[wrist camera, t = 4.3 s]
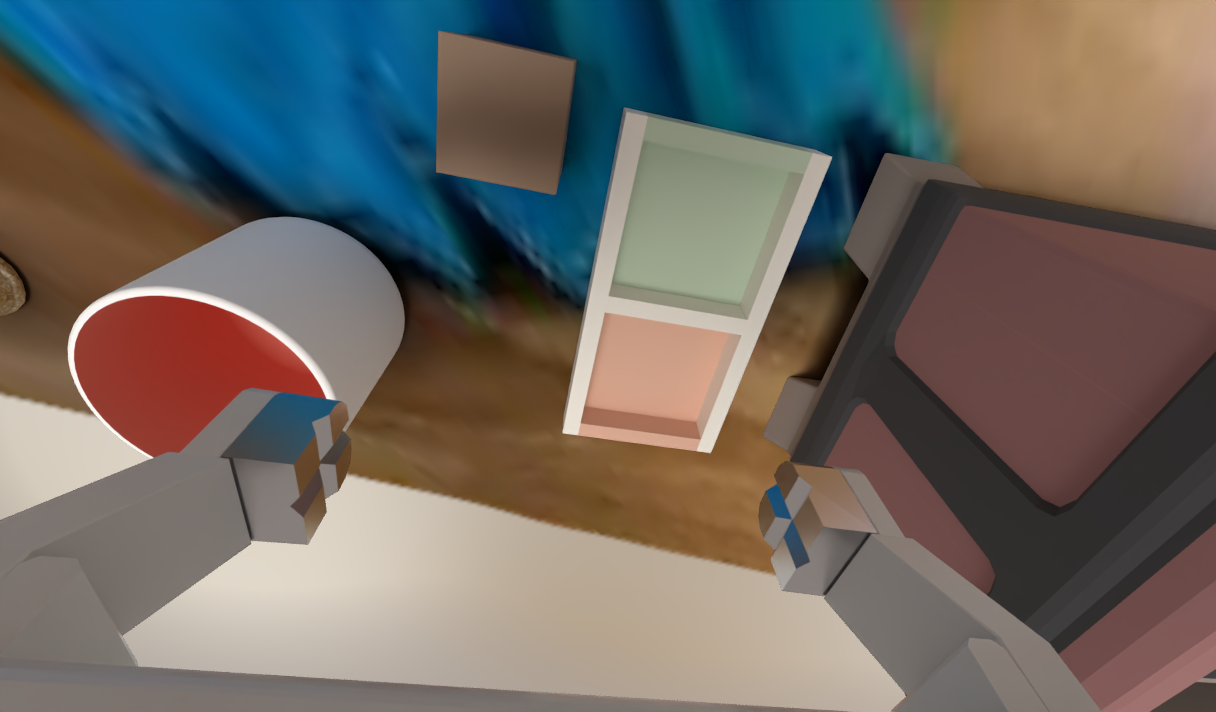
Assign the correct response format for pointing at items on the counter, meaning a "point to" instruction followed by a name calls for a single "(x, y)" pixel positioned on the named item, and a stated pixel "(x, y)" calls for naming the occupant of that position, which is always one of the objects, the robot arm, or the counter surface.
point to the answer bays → (684, 277)
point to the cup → (237, 331)
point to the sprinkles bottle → (10, 289)
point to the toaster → (1037, 417)
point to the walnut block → (502, 112)
